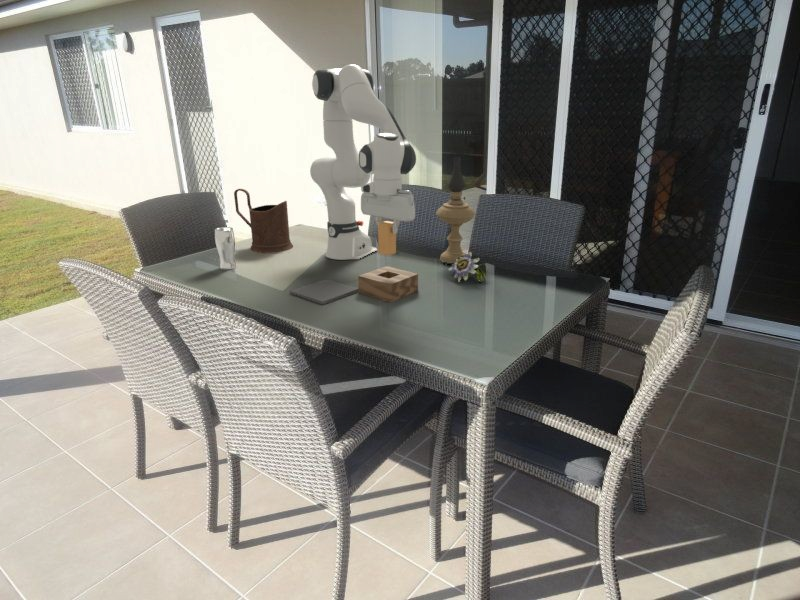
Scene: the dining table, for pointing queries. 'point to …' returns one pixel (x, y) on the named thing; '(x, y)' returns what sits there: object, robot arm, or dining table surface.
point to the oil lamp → (455, 214)
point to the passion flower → (467, 267)
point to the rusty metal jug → (267, 226)
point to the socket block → (388, 283)
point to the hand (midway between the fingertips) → (387, 231)
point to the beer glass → (225, 247)
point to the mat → (324, 291)
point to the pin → (386, 238)
